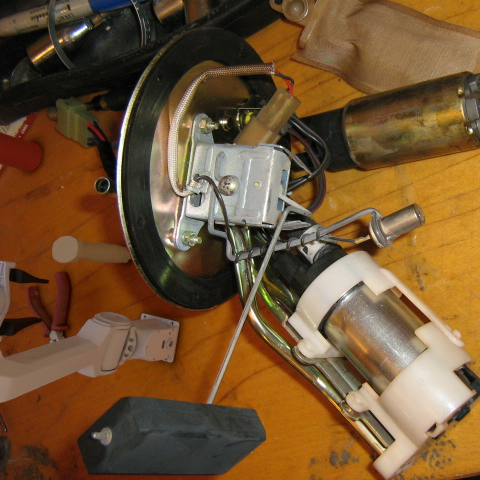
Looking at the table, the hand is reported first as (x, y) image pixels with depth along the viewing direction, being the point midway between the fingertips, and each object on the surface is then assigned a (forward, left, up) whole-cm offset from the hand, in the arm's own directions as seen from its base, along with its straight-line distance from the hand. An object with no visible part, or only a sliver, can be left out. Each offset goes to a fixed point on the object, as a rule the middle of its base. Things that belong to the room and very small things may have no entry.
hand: (42, 300), depth 91 cm
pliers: (+8, +6, -10) cm, 15 cm away
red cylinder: (+25, -30, -10) cm, 41 cm away
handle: (-10, -11, -10) cm, 18 cm away
